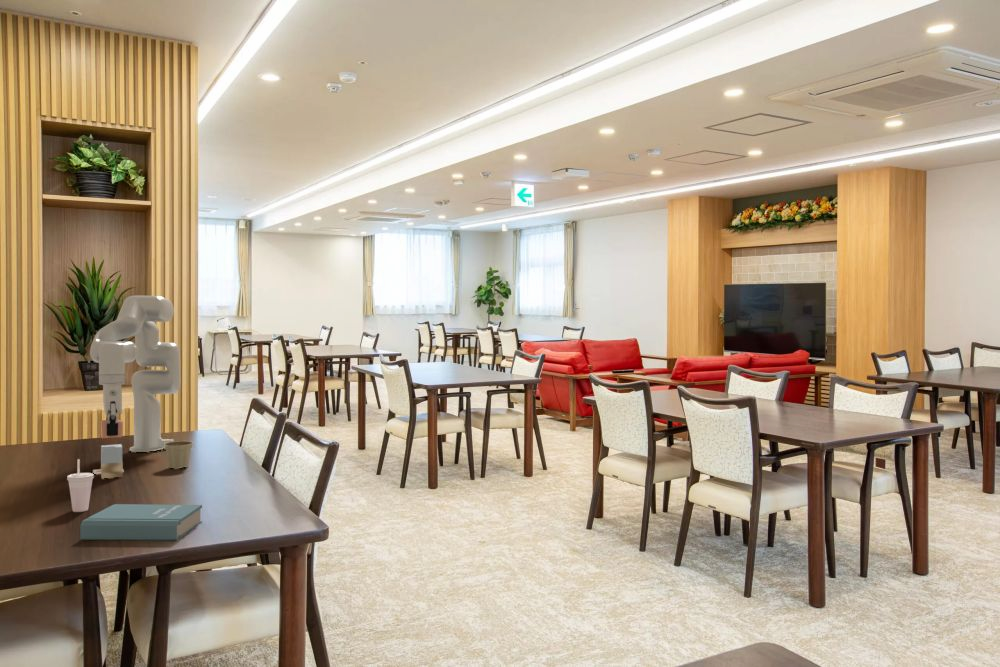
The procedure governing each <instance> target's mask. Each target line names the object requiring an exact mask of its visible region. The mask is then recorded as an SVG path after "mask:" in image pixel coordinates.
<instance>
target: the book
mask: <svg viewBox="0 0 1000 667" xmlns="http://www.w3.org/2000/svg"><path fill="white" fill-rule="evenodd" d="M202 508H203V505H202V504H152V503H151V504H150V503H149V504H138V503H135V504H134V503H133V504H131V503H130V504H129V503H123V504H122V503H115V504H112V505H110V506H108V507H106V508H104V509H102V510H100V511H98V512H97V513H95V514H92V515H90V516H89V517H87V518H86V519H83V520H82V521H81V523H80V528H79V529H80V530H79V531H80V532H79V533H80V538H79V539H80V540H81V541H168V542H169V541H170V542H171V541H173V542H174V541H176V542H177V541H179V540H180V539H182V537H184V536H185V535H187V534H188V533H189V532H191V531H192V530H193V529H195V528H197V527H198V526H199V525H200V524H202V523H203V521H201V509H202Z"/></svg>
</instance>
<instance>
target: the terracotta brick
mask: <svg viewBox="0 0 1000 667" xmlns="http://www.w3.org/2000/svg"><path fill="white" fill-rule="evenodd" d="M117 423H118V435H117V436H107V424H108V420H100V437H101V439H110V438H112V439H113V438H123V436H124V432H123V431H124V428H123V427H124V425H123V424H124V422H123V420H122V419H117Z"/></svg>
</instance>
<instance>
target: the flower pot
mask: <svg viewBox="0 0 1000 667" xmlns="http://www.w3.org/2000/svg"><path fill="white" fill-rule="evenodd" d="M193 444H194V442H193V441H189V440H178V441H175V440H174V442H168V443H165V444H164V446H165V449H164V450H165V452H166V456H167V463H168V464H167V465H168V468H169V467H170V468H178V467H184V466H188V467H189V463H190V456H191V449H192V447H193ZM170 468H169V469H170Z"/></svg>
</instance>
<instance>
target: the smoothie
mask: <svg viewBox="0 0 1000 667" xmlns="http://www.w3.org/2000/svg"><path fill="white" fill-rule="evenodd" d="M80 463H81V461H80V458H78V459H77V464H76V465H77V470H76V471H77V472H76V473H71V474H68V475H67V476H66V477H67V478H66V480H67V481H68V486H69V487H68V488H69V494H70V501H71V509H72V512H73V513H82V512H86V511H88V510H89V505H90V500H91V492H92V485H93V479H94V478H95V475H94V474H93V472H92V473H91V472H81V470H80V469H81V467H80V466H81V464H80Z"/></svg>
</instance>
